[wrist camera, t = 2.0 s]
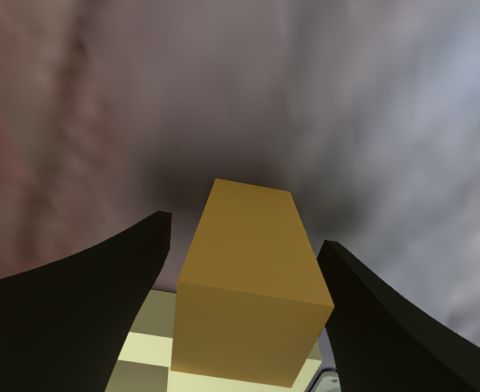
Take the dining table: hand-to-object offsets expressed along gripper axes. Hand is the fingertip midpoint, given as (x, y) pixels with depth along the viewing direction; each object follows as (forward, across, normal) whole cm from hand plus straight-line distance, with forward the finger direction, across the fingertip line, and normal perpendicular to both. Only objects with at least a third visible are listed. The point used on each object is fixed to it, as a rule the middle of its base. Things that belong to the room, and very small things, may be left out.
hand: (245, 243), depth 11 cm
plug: (+2, 0, 0) cm, 2 cm away
